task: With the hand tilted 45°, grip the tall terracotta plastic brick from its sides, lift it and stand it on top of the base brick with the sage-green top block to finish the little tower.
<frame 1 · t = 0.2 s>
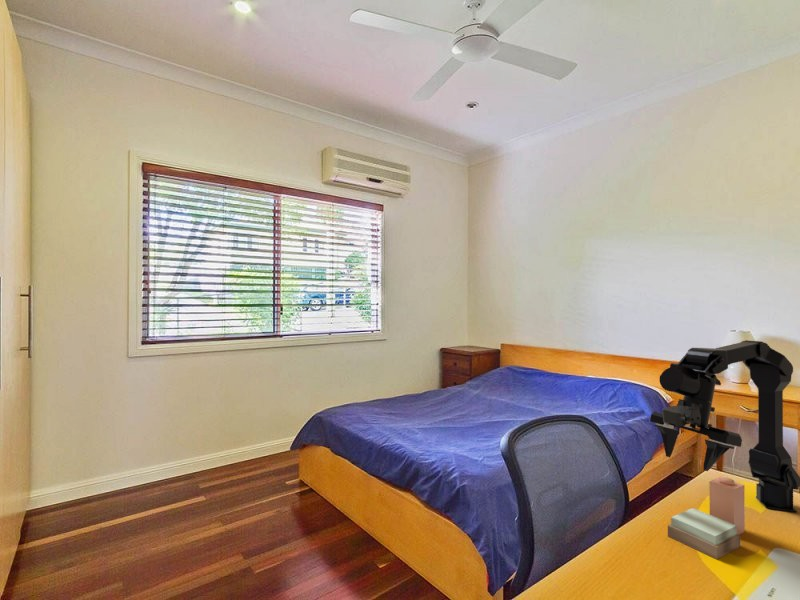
hand: (686, 463, 101), 15 cm above the table, fingers open, 9 cm apart
base brick: (703, 541, 95), on the table
top brick: (727, 529, 100), on the table
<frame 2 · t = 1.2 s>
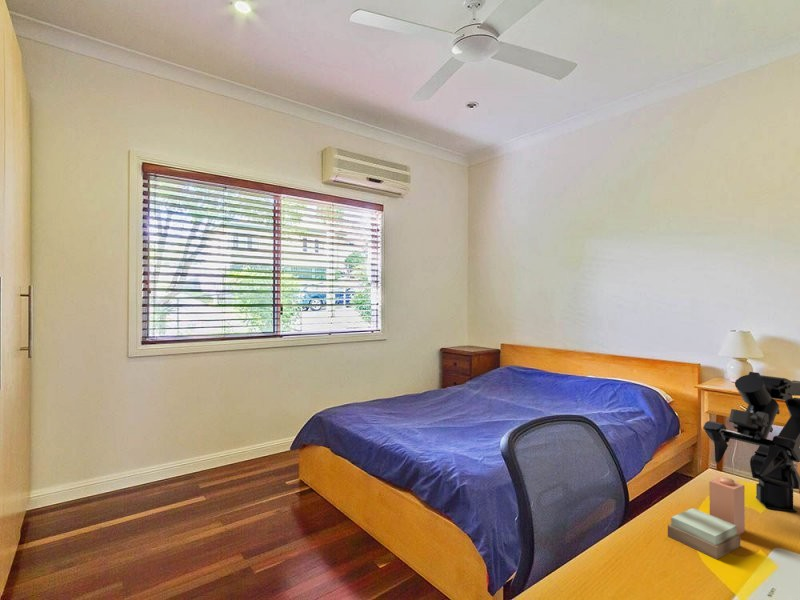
hand: (738, 468, 103), 13 cm above the table, fingers open, 9 cm apart
nothing on the table moved.
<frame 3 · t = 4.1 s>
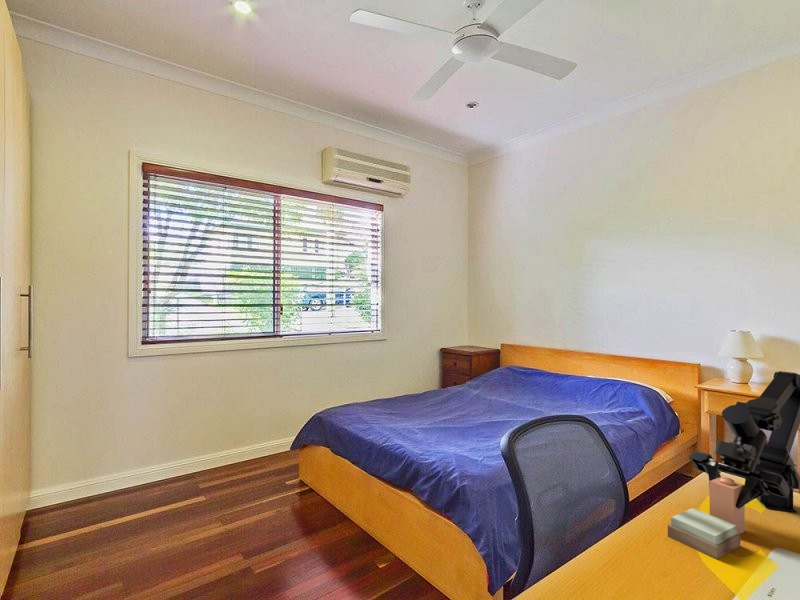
hand: (723, 502, 100), 7 cm above the table, fingers closed on top brick, 5 cm apart
top brick: (726, 529, 100), on the table, touching gripper
when the fingers open (12 cm above the table, at t = 7.5 s): top brick stays where it is, resting on base brick.
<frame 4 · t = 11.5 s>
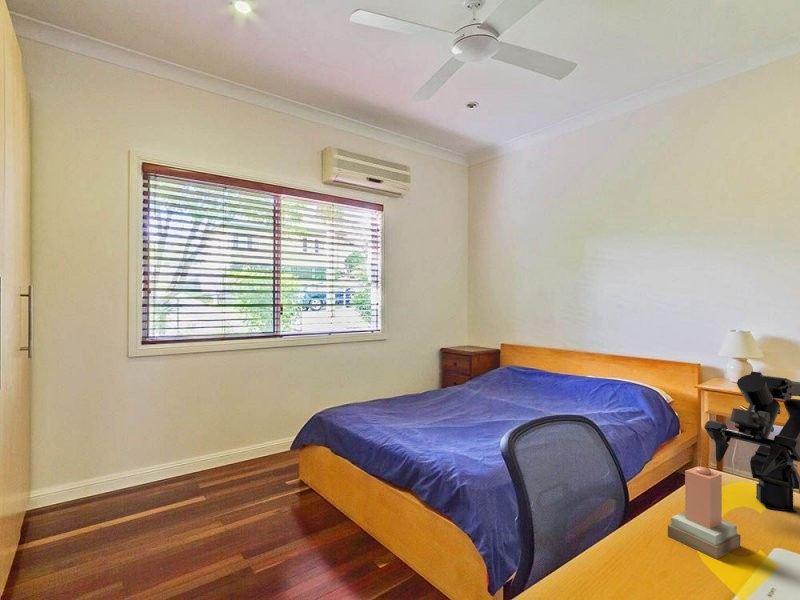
hand: (739, 467, 103), 14 cm above the table, fingers open, 9 cm apart
top brick: (703, 521, 95), point 4 cm above the table, touching base brick
at the end: top brick 0.0 cm off-centre on the base brick, point 4.5 cm above the base brick's base; top brick tilted 0°; the gripper is holding nothing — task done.
